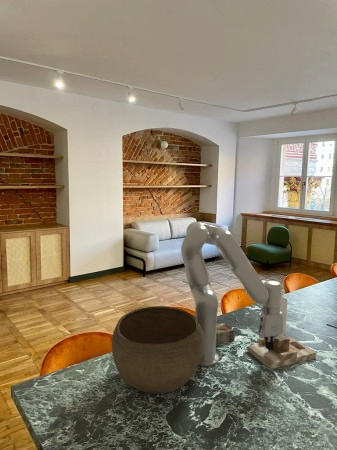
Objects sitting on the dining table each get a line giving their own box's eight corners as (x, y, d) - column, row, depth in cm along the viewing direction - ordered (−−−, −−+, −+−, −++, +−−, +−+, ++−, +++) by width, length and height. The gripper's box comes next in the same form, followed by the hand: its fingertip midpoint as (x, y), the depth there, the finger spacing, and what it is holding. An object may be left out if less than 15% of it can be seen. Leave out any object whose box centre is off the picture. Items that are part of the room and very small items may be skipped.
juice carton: (226, 331, 174) (226, 320, 173) (236, 340, 165) (237, 328, 164) (191, 338, 166) (191, 327, 166) (200, 348, 158) (200, 336, 157)
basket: (215, 370, 139) (219, 315, 133) (173, 429, 109) (175, 362, 104) (145, 343, 156) (145, 294, 151) (92, 388, 127) (90, 329, 121)
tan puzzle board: (270, 369, 140) (270, 357, 139) (247, 350, 155) (248, 340, 154) (316, 357, 149) (316, 347, 149) (290, 341, 164) (291, 331, 163)
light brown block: (278, 353, 147) (278, 341, 147) (269, 347, 153) (269, 335, 152) (288, 351, 150) (289, 338, 149) (279, 345, 155) (280, 332, 154)
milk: (274, 336, 170) (276, 294, 166) (268, 330, 176) (270, 290, 172) (285, 334, 171) (288, 293, 168) (279, 329, 177) (281, 289, 174)
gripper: (262, 315, 140) (260, 356, 143) (291, 310, 145) (288, 349, 148) (251, 308, 147) (250, 347, 149) (279, 304, 152) (277, 342, 155)
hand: (269, 348), depth 149 cm, fingers closed
